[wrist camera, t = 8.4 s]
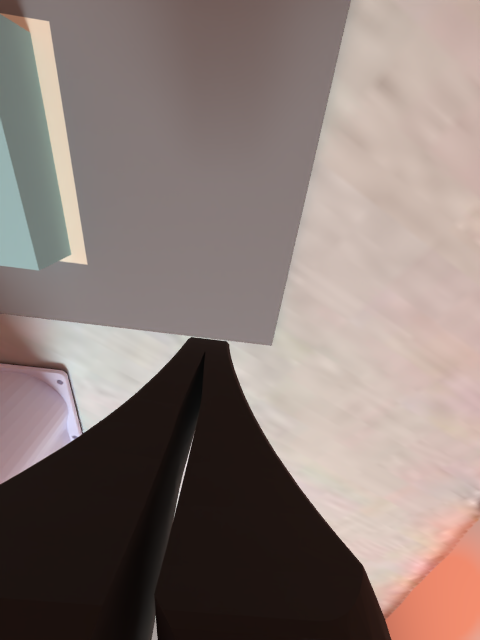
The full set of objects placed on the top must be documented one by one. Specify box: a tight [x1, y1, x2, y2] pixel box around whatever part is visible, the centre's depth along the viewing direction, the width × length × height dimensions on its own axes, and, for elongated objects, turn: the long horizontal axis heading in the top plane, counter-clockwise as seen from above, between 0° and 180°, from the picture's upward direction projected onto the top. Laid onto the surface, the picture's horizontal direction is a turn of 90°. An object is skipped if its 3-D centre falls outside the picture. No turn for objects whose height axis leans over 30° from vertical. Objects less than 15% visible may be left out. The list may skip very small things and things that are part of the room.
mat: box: [0, 0, 351, 346], centre depth 15 cm, size 20×26×1 cm
